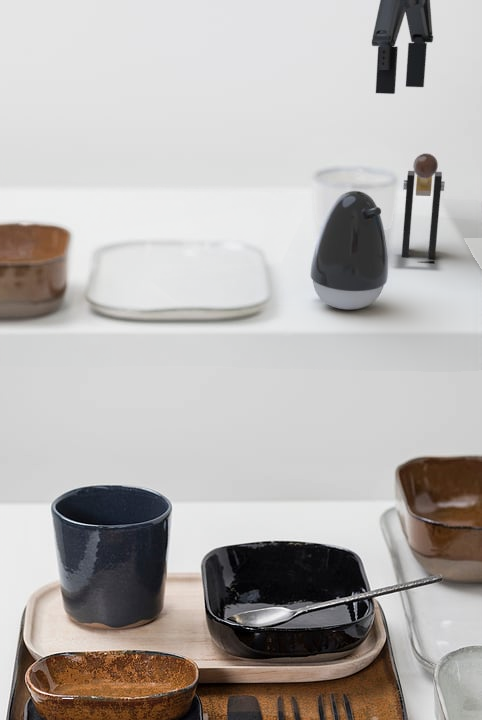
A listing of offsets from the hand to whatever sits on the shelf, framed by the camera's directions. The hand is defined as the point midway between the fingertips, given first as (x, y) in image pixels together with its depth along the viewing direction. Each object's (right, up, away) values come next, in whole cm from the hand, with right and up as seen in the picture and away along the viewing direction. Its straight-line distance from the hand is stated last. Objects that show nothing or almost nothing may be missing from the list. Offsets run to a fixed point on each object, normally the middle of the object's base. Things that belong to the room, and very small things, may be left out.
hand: (400, 90), depth 166 cm
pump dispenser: (-11, -35, -19) cm, 41 cm away
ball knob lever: (+2, -16, -7) cm, 18 cm away
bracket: (+3, -26, +2) cm, 26 cm away
